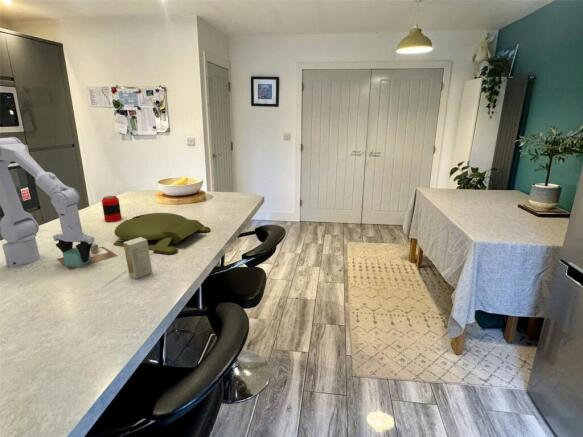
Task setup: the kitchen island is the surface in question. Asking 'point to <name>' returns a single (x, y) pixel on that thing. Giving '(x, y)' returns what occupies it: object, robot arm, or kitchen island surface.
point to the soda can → (111, 209)
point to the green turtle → (158, 230)
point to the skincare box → (137, 257)
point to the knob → (74, 258)
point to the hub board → (93, 256)
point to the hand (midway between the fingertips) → (78, 260)
